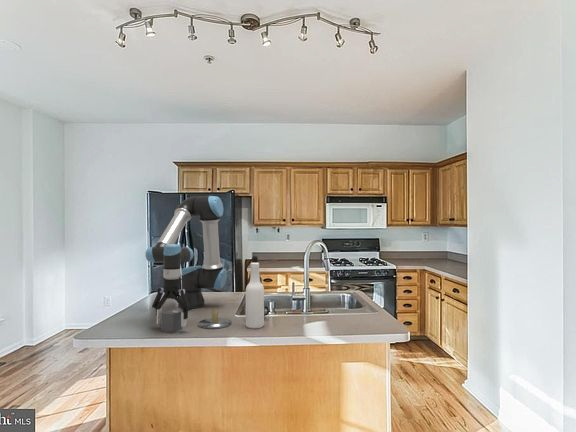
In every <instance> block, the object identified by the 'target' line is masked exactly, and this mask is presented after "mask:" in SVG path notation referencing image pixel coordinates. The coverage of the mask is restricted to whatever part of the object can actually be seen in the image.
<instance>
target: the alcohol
mask: <svg viewBox="0 0 576 432" xmlns="http://www.w3.org/2000/svg"><path fill="white" fill-rule="evenodd" d="M260 276H261V275H260V262H258V263H252V262H251V263H250V275H249V277H250V282H249V284H248V283H247V285H246V288H245V327H246V328H247V329H251V330H252V329H254V330H255V329H261V328H263V327H264V325H265V319H264V301H265V288H264V285H263V284H261V282H260Z"/></svg>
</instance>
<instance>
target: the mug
mask: <svg viewBox="0 0 576 432" xmlns="http://www.w3.org/2000/svg"><path fill="white" fill-rule="evenodd" d="M269 312H270V309H269V307H268V306H266V301H265V300H264V320H265V319H266V316H268V315H269Z"/></svg>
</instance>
